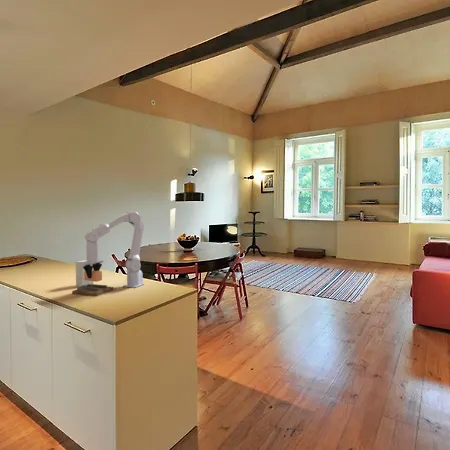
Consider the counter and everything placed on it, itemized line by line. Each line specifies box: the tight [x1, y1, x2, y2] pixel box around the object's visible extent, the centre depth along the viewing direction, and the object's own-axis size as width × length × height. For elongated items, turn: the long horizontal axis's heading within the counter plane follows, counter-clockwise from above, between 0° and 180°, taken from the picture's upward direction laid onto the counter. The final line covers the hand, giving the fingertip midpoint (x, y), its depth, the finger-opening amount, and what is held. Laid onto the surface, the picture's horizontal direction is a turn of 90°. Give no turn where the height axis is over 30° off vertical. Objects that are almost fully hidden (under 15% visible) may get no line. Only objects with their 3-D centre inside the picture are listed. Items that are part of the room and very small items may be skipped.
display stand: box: [71, 283, 114, 297], centre depth 184 cm, size 14×16×3 cm
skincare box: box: [75, 259, 94, 287], centre depth 198 cm, size 8×6×15 cm
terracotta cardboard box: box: [84, 270, 103, 283], centre depth 183 cm, size 4×9×5 cm, turn 65°
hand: (92, 277), depth 183 cm, fingers closed on terracotta cardboard box, 4 cm apart
